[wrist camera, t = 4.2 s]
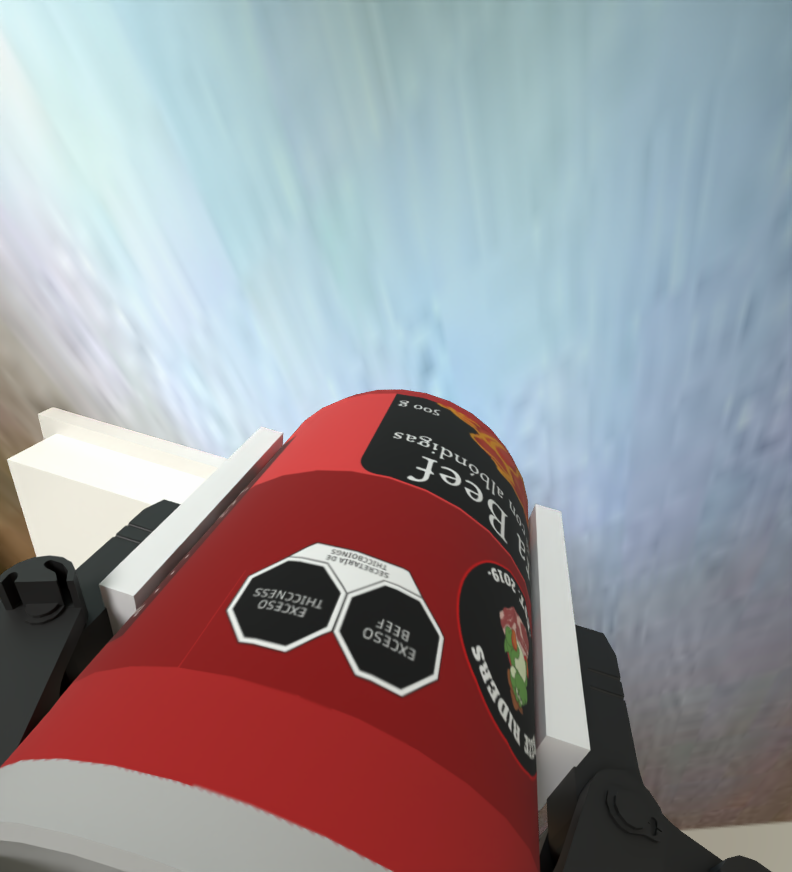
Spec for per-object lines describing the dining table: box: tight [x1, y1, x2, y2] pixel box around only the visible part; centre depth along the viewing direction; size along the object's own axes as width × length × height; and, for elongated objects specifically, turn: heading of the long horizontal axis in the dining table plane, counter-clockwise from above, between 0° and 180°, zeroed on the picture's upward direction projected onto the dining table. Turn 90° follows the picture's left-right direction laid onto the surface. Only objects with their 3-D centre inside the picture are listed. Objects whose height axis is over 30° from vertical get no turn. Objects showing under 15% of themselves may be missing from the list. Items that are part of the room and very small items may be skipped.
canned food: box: [0, 390, 540, 872], centre depth 10 cm, size 8×8×11 cm
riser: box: [7, 407, 227, 570], centre depth 28 cm, size 14×14×4 cm
